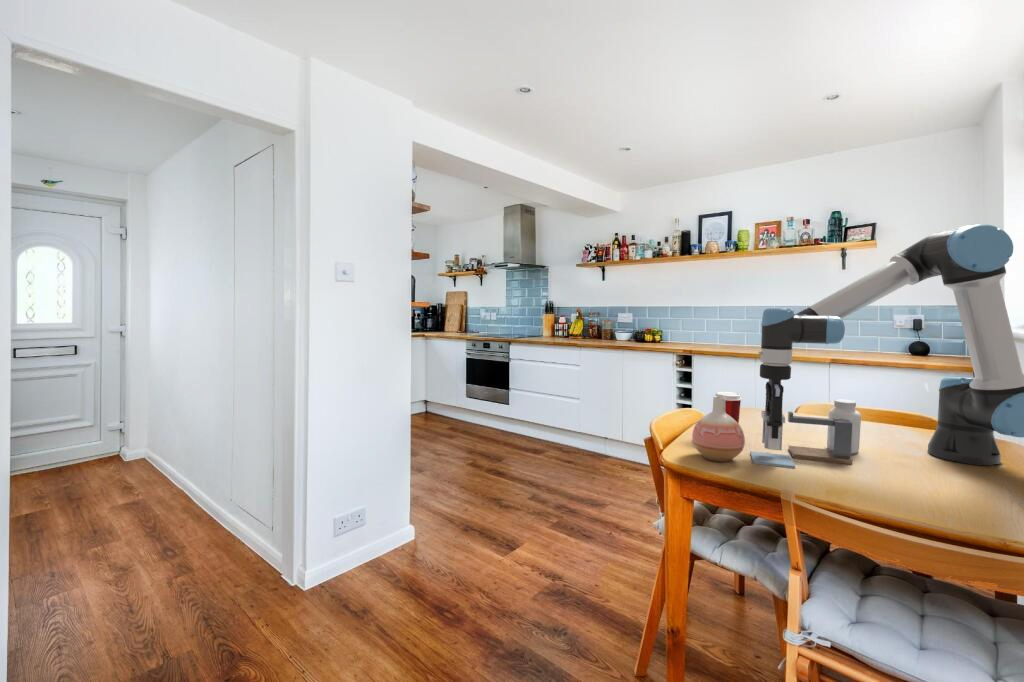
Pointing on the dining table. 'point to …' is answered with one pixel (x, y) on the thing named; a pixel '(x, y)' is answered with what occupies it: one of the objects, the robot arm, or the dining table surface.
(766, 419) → the light grey block
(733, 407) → the coffee cup
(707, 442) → the vase
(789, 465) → the mat
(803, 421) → the hook stand
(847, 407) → the pill bottle
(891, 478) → the dining table surface
